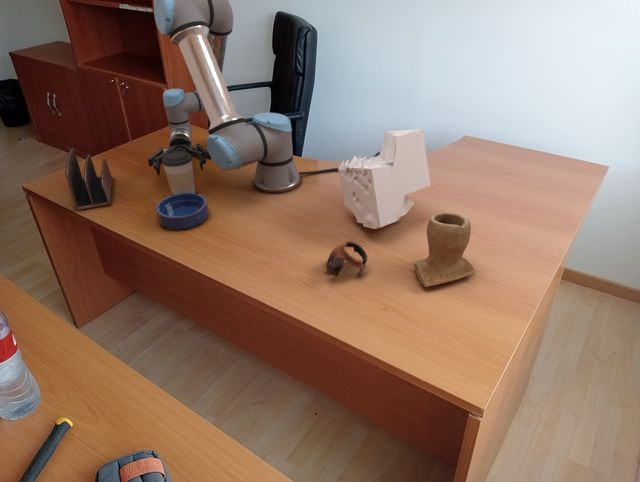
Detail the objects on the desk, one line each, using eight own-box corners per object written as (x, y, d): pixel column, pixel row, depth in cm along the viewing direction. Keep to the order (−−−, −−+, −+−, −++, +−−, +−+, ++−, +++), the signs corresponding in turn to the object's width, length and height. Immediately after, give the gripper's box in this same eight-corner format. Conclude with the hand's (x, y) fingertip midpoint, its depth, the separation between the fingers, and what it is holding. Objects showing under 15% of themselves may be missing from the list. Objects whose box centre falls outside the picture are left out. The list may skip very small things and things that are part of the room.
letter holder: (76, 211, 152) (61, 170, 144) (82, 183, 167) (69, 144, 159) (110, 205, 154) (97, 164, 146) (112, 178, 170) (101, 140, 162)
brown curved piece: (334, 255, 129) (350, 234, 125) (360, 280, 127) (377, 259, 123) (310, 269, 120) (326, 246, 115) (337, 296, 117) (355, 274, 113)
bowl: (211, 204, 153) (209, 191, 150) (204, 229, 141) (202, 216, 138) (165, 206, 152) (162, 193, 150) (154, 232, 140) (150, 218, 138)
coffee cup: (191, 203, 153) (182, 159, 145) (165, 201, 155) (155, 158, 147) (203, 189, 161) (195, 147, 152) (177, 187, 162) (168, 146, 154)
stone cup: (453, 252, 128) (461, 202, 120) (479, 278, 119) (490, 227, 110) (401, 264, 124) (405, 214, 116) (424, 293, 115) (431, 241, 107)
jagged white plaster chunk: (379, 240, 129) (363, 146, 122) (346, 231, 143) (329, 147, 135) (435, 217, 138) (423, 129, 131) (399, 211, 152) (386, 131, 144)
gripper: (217, 149, 176) (220, 174, 159) (146, 157, 172) (141, 184, 155) (214, 129, 172) (217, 153, 155) (141, 137, 168) (136, 163, 151)
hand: (179, 169), depth 155 cm, fingers open, 13 cm apart
